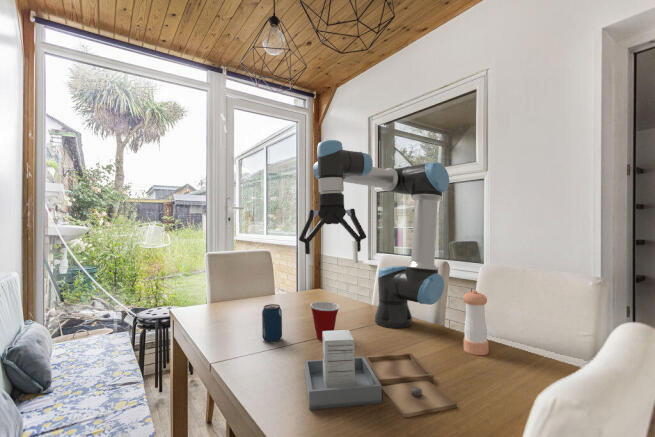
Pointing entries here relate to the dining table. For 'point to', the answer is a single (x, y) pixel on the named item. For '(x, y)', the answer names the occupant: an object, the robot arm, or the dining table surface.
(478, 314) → the pepper shaker
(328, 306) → the plastic cup
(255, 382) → the dining table surface
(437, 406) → the tray lid
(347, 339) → the supplement box
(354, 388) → the gray square tray
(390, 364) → the walnut tray
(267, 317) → the soda can
